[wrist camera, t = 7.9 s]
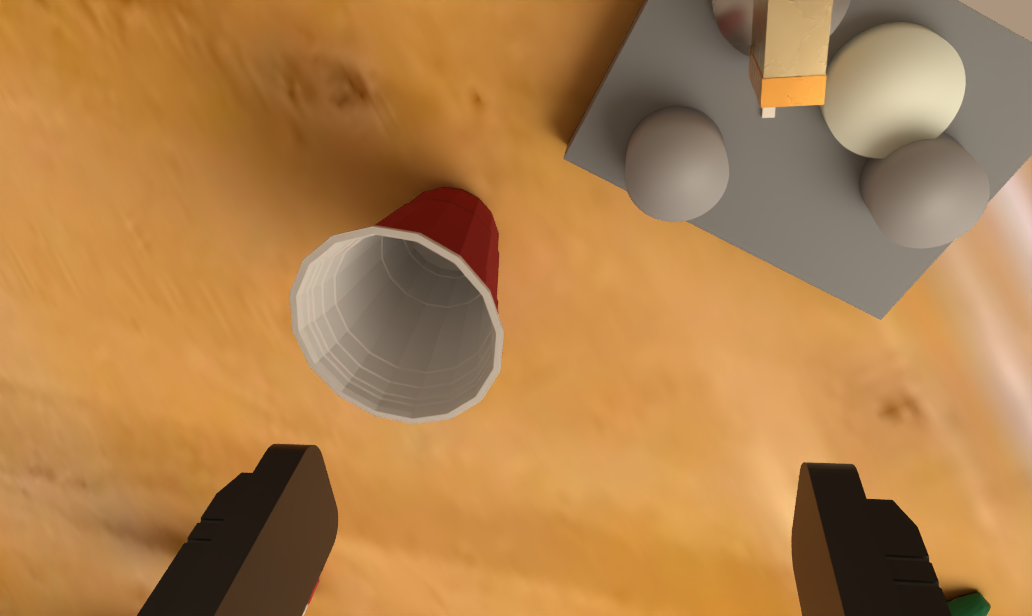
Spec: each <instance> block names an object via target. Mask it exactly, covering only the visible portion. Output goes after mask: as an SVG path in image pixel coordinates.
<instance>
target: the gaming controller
mask: <svg viewBox="0 0 1032 616" xmlns="http://www.w3.org/2000/svg"><path fill="white" fill-rule="evenodd" d="M947 604H948V607H949V610H950V612H951V615H952V616H986V615H987V614H988V612H989V610H990V607H991V606H990V604H989V603H988V602H987V601H986V600H985V598H984V597H983V596H982V595H981V594H980V593H973V594H969V595H965V596H962V597H958V598H956V599H954V600H951V601H949V602H947Z"/></svg>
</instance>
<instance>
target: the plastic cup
mask: <svg viewBox="0 0 1032 616" xmlns="http://www.w3.org/2000/svg"><path fill="white" fill-rule="evenodd" d="M498 237H499V233H498V230H497V227H496V224H495V221H494V219H493V216H492V213H491V211H490V210H489V209H488V208H487V207H486V206H485V205H484V204H483V202H482V201H481V200H480V199H479V198H477V197H475V196H473V195H472V194H470V193H468V192H466V191H464V190H462V189H455V188H447V187H442V188H438V189H434V190H430V191H427V192H423V193H421V194H420V195H419V196H417V197H416V198H415V199H414V200H412V201H411V202H410V203H408V204H404V205H403V206H402V207H400V208H399V209H397V210H396V211H394V212H393V213H392V214H390V215H389V216H387V217H386V218H384V219H383V220H382V221H380V222H379V223H377V224H376V225H375V226H372V227H367V228H363V229H359V230H355V231H350V232H346V233H342V234H337V235H333V236H331V237H330V238H329V239H328V240H326V241H325V242H324V243H323V244H322V245H320V246H319V247H318V248H317V249H315V250H314V251H313V252H312V253H311V254H309V255H308V256H307V257H306V258H305V259H303V261H302V264H301V266H300V269H299V271H298V274H297V276H296V279H295V281H294V284H293V286H292V288H291V291H290V306H291V320H292V331H293V333H294V335H295V337H296V339H297V341H298V343H299V346H300V348H301V350H302V352H303V354H304V356H305V358H306V360H307V362H308V364H309V366H310V367H311V368H312V369H313V370H314V371H315V372H316V374H317V375H318V376H319V377H320V378H321V379H322V380H323V381H324V382H325V383H326V384H327V385H328V386H329V387H330V388H331V389H332V390H333V391H334V392H335V393H336V394H337V395H338V396H339V397H341V398H343V399H345V400H347V401H348V402H350V403H352V404H354V405H356V406H357V407H359V408H361V409H363V410H365V411H366V412H368V413H370V414H372V415H374V416H377V417H382V418H387V419H392V420H396V421H401V422H406V423H411V424H417V423H425V422H432V421H440V420H447V419H452V418H453V417H455V416H457V415H458V414H460V413H462V412H463V411H465V410H467V409H469V408H470V407H472V406H474V405H475V404H477V403H479V402H480V401H482V399H483V398H484V396H485V394H486V393H487V391H488V390H489V388H490V387H491V385H492V383H493V382H494V380H495V379H496V377H497V376H498V374H499V372H500V370H501V359H502V348H503V337H504V329H503V326H502V323H501V320H500V317H499V313H498V300H497V285H498V267H499V252H498Z"/></svg>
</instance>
